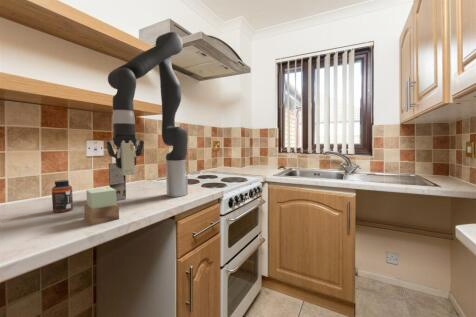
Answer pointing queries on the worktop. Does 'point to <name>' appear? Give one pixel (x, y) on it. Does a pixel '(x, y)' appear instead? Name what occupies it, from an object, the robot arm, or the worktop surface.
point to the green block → (101, 197)
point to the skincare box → (127, 159)
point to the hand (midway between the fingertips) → (126, 167)
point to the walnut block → (101, 214)
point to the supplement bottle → (62, 196)
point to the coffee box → (117, 181)
